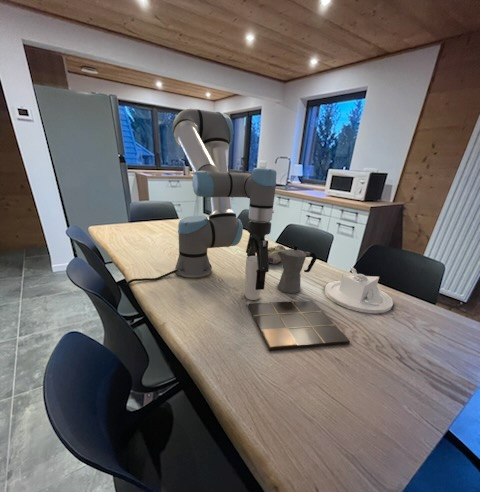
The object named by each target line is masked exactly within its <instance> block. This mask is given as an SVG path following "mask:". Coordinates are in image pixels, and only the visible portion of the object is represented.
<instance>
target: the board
mask: <svg viewBox="0 0 480 492" xmlns="http://www.w3.org/2000/svg"><path fill="white" fill-rule="evenodd" d="M247 304H248V305H247V306H248V309H249V311H250V312H251V315H252V317H253V319H254V321H255V323H256V325H257V327H258V329H259V331H260V334H261V336H262V338H263V339H264V343H265V344H266V346H267V348H268V351H270V352H271V351H283V350H294V349H305V348H315V347H328V346H338V345H339V346H340V345H349V344H350V342H351V341H350V339H349V338H348V337H347V336H346V335H345V334H344V333H343V332H342V331H341V330H340V329H339V328H338V326H337V325H336V324H335V323H334V322H333V321H332V320H331V319H330V318H329V317H328V315H326V314H325V313H324V311H323V310H322V309H321V308H320V307H319V306H318V305H317V304H316V303H315V302H314V301H313V300H294V301H293V300H291V301H270V302H269V301H268V302H251V303H250V302H249V303H247Z"/></svg>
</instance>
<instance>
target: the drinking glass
mask: <svg viewBox="0 0 480 492" xmlns="http://www.w3.org/2000/svg"><path fill="white" fill-rule="evenodd" d="M244 268H245V269H244V271H245V273H244V274H245V275H244V276H245V279H244V280H245V281H244V282H245V284H244V285H245V286H244V287H245V290H244V291H245V293H244V296H245V298H246V299H247V300H250V301H257V300H259V299H260V297H261V291H262V290H256V289H255V288H256V278H257V272H256V271H257V270H258V262H257V255H256V256H249V257H248V256H247V257H246V260H245V267H244Z"/></svg>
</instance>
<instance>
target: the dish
mask: <svg viewBox="0 0 480 492" xmlns="http://www.w3.org/2000/svg"><path fill="white" fill-rule="evenodd" d="M350 270H351V273H352V275H351V274H343V275H342V277H341V280H335V281H329V282H328V283H327V284H326V285H325V287H324V294H325V296H326V297H327V298H328V299H329V300H331V301H332V302H333V303H335V304H336V305H339V306H341V307H343V308H346V309H349V310H351V311H356V312H359V313H365V314H384V313H387V312H388V311H391V309H392V307H393V306H394V305H393V304H394V300H393V298H392V297H391V296H390V295H389V294H388V293H387V292H385V291H383V290H382V289H380V288H379V287H377V285H378V283H379V279H380V276H372V275H371V276H370V275H365V274H363V273H358V272H357V269H356V268H355V267H353V266H350Z"/></svg>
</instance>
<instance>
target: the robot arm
mask: <svg viewBox="0 0 480 492" xmlns="http://www.w3.org/2000/svg"><path fill="white" fill-rule="evenodd" d="M171 127H172V129H171V131H172V135H173V138H174V140H175V142H176V143H177V145H178V146H180V147H181V149H182V150H183V153H184V155H185V158H186V159H187V161H188V163H189V165H190V167H191V170H192V172H193V175H192V180H191V181H192V182H191V183H192V184H191V185H192V190H193V193H194V195H196V196H197V197H202V198H210V207H211V211H210V214H209V215H208V217H207V216H205V215H190V216H186V217H183V218H181V219H180V220H179V222H178V224H177V225H178V226H177V228H178V229H177V235H178V254H179V255H178V258H177V261H176V263H175V268H174V270H172V271H169V272H167V273H164V274H163V275H160V276H158V277H152V278H151V277H144V278H132V279H130V280H128V281H127V282H126V283H125V285H124V286H126V287H127V286H129V285H130V284H131V283H133V282H144V281H145V282H149V281H150V282H153V281H158V280H161V279H163V278H166V277H169V276H170V275H173V274H176V275H177V276H178V277H180V278H183V279H190V280H197V279H203V278H206V277H209V276H210V275H211V274H212V265H211V263H210V259H209V257H208V249H215V248H216V249H217V248H230V247H235V246H238V245H239V243H240V242H241V240H242V237H243V233H244V231H243V230H244V227H243V223H242V220H241V219H240V218H237V213H236V212H235V211H233V208H232V207H233V206H232V198H246V199H249V206H248V217H247V218H248V219H249V220H248V221H247V232H248V233H249V235H248V236H249V237H248V241H247V244H246V249H245V254H246V256H247V257H249V256H257V262H258V270H257V271H256V272H257V278H256V288H255V289H256V290H261V291H262V290H263V291H264V290H265V284H266V283H265V281H266V273H269V272H270V265H269V264H270V263H269V262H268V249H269V240H266V236H268V235H270V234H271V232H272V231H271V230H272V222H271V221H272V219H273V214H274V213H275V210H274V203H275V197H276V196H275V195H276V188H277V170H275V169H274V168H265V167H254V168H253V169H252V171H251V173H250V172H229V167H228V166H229V165H228V158H227V152H228V150H229V149H230V146H231V145H232V143H233V140H234V136H233V135H234V124H233V121H232V119H231V117H230V116H229V115H228V114H227V113H223V112H220V111H212V110H204V109H199V108H194V107H193V108H191V107H190V108H186V109H182V110H181V111H180V112H179V113H178V114H176V115H175V118H174V120H173V122H172V126H171Z"/></svg>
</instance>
